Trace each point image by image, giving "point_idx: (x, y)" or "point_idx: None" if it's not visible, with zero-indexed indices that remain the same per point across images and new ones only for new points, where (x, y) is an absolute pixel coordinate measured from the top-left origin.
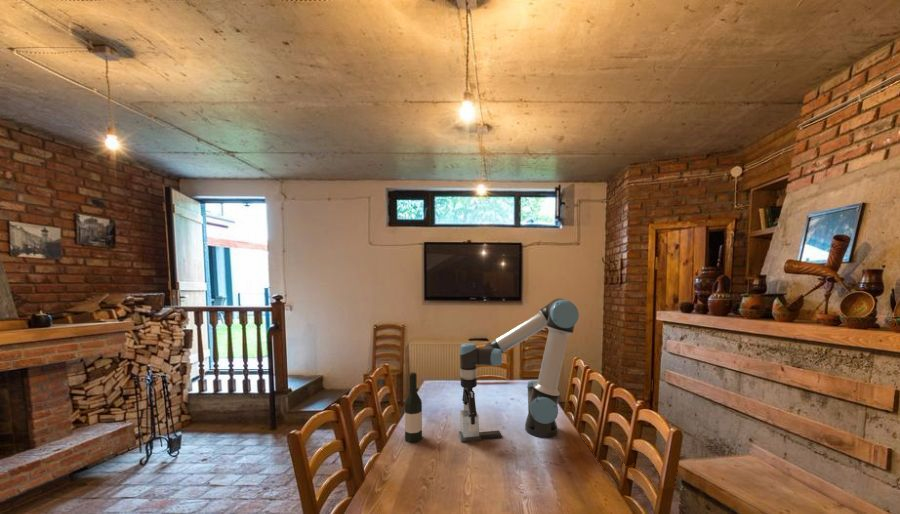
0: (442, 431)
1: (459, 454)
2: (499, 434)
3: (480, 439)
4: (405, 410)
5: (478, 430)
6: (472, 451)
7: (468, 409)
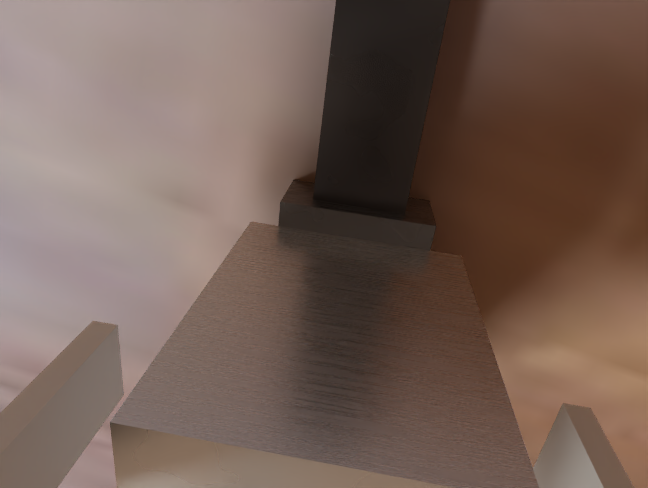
0: None
1: None
2: None
3: (429, 205)
4: None
5: (472, 299)
6: (607, 359)
7: (14, 455)
